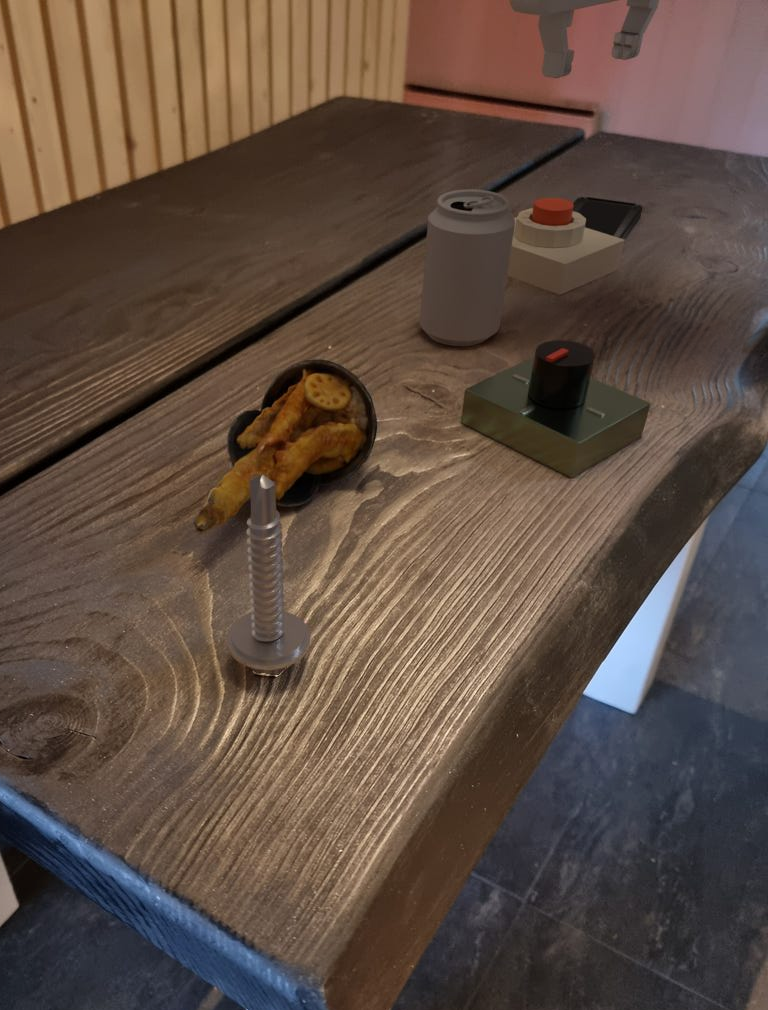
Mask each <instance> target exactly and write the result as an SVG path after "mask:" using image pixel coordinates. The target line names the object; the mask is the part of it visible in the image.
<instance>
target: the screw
mask: <svg viewBox="0 0 768 1010" xmlns="http://www.w3.org/2000/svg"><path fill="white" fill-rule="evenodd" d="M280 520H281V514H280V512H279V510H277V505H276V492H275V482H273V481H272V480H270V479H268V478H267V477H265V475H263V474H262V475H257V476H254V477H253V478H251V479H250V517H248V519H247V521H246V524H247V525H248V528H247V529H246V531H245V532H246V535H247V536H248V537H247V539H246V544H247V545H248V547H247V554H249V555H248V556H247V561H248V563H249V564H248V566H247V567H248V572H249V574H248V579H249V580H250V582H249V583H248V584H249V585H248V586H249V588H250V590H249V595H250V597H251V598H250V600H249V602H250V605H251V606H250V612H248V613H245V614H243V615H241V616H240V617H239V618H237V619H235V621H234V622H233V623H232V624H230V626H229V628H228V630H227V633H226V636H225V637H226V648H227V650H228V653H229V654H230V655H231V657H232V658H233V659H234V660H236V661H237V662H238V663H239V664H241V665H243V666H245V667H248V668H250V667H251V668H252V670H253V671H254V672H256V673H266V674H270V675H279V674H280V673H281V672H282V671H283V670H285V668H287V666H289V665H291V666H293V665H294V664H296V663H297V662H299V661H300V660H301V659H302V658H304V657H305V655H306V654H307V652H308V651H309V649H310V646H311V631H310V629H309V628H310V627H308V625H307V623H306V622H305V621H304V620H303V619H302V618H300V617H299V616H297V615H296V614H294V613H292V612H289V611H286V610H285V609H284V607H285V602H284V597H285V596H284V595H285V594H284V584H283V583H284V576H283V575H284V569H283V565H284V560H283V555H284V553H283V541H282V540H283V533H282V528H283V525H282V523H281V521H280ZM292 664H293V665H292ZM251 668H250V669H251ZM252 670H251V671H252Z"/></svg>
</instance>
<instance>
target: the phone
mask: <svg viewBox="0 0 768 1010" xmlns="http://www.w3.org/2000/svg"><path fill="white" fill-rule="evenodd" d="M572 203H573V205H574V207H573V211H574V212H577V213H580V214H581V215H582V216H583V217H585V218H586V224H585V228H589V229H592V230H595V231H598V232H601V233H605V234H608V235H611V236H614V237H617V238H621V239H624V240H625V241H626V239H627V238H628V236H629V234H630V233H631V232H632V230H633V229H634V227H635V226H636V225H637V223H638V221H639V220H640V219H641V216H642V212H643V205H641V204H639V203H636V202H635V203H634V202H628V201H620V200H614V199H606V198H598V197H590V196H580V197H577V198H576V199H575V200H574V201H573V202H572Z"/></svg>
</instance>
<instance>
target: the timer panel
mask: <svg viewBox="0 0 768 1010" xmlns="http://www.w3.org/2000/svg"><path fill="white" fill-rule="evenodd" d="M533 362H534V356H532V357H530V358H528V359H526V360H524V361H521V362H519V363H517V364H515V365H513V366H511V367H509V368H506V369H505V370H502V371H500V372H498V373H495V374H494V375H492V376H490V377H487V378H485V379H483V380H481V381H479V382H477V383H474V384H472V385H471V386H469V387H466V388H465V389H464V393H463V394H464V395H463V400H462V401H463V403H462V409H461V416H460V417H461V418H460V419H461V420H460V423H461V424H463V425H465V426H467V427H468V428H470V429H472V430H475V431H477V432H478V433H481V434H483V435H485V436H487V437H489V438H491V439H493V440H495V441H497V442H498V443H501V444H503V445H504V446H506V447H509V448H511V449H513V450H515V451H516V452H519V453H521V454H522V455H525V456H527V457H528V458H530V459H532V460H535V461H536V462H539V463H541V464H542V465H544V466H547V467H548V468H550V469H552V470H555V471H556V472H558V473H561V474H562V475H564V476H566V477H569V478H570V479H572V478H574V477H576V476H577V475H579V474H581V473H583V472H584V471H586V470H587V469H588V470H589V468H591V467H593V466H594V465H596V464H599V463H600V462H601V461H603V460H605V459H606V458H608V457H610V456H611V455H613V454H615V453H617V452H618V451H620V450H622V449H624V448H626V447H627V446H628V445H631V444H632V443H634V442H636V441H637V440H639V439H640V438H642V436H643V433H644V430H645V426H646V423H647V419H648V415H649V412H650V408H651V404H652V403H651V402H650V401H647V400H645V399H643V398H640V397H638V396H635V395H633V394H630V393H628V392H626V391H623V390H621V389H619V388H616V387H614V386H611V385H609V384H607V383H604V382H602V381H599V380H598V379H595V378H593V377H592V376H591V378H590V383H589V387H588V392H587V396H586V400H585V401H584V403H583V404H581V405H579V406H577V407H573V408H567V409H558V408H550V407H546V406H543V405H540V404H538V403H536V402H535V401H533V400H532V399H531V398H530V397H529V394H528V390H529V384H530V379H531V373H532V367H533Z"/></svg>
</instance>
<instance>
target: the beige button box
mask: <svg viewBox="0 0 768 1010" xmlns="http://www.w3.org/2000/svg"><path fill="white" fill-rule="evenodd" d="M532 212H533V207H530V208H527V209H525V210H521V211H519V212H518V215H517V216H516V217H514V220H515V227H514V234H513V241H512V247H511V254H510V261H509V268H508V274H507V277H509V278H512V279H514V280H517V281H521V282H524V283H525V284H528V285H531V286H534V287H537V288H539V289H542V290H545V291H548V292H550V293H553V294H555V295H558V296H561V295H563V294H565V293H568V292H569V291H572V290H574V289H577V288H579V287H582V286H584V285H586V284H589V283H591V282H594V281H596V280H597V279H600V278H602V277H605V276H607V275H609V274H612V273H614V272H616V271H618V270H619V267H620V264H621V259H622V255H623V250H624V246H625V242H626V239H625V240H624V239H621V238H617V237H614V236H611V235H608V234H605V233H601V232H598V231H595V230H592V229H589V228H585V224H586V218H585V217H583V216H582V215H581V214H580V213H577V212H574V211H573V213H572V218H571V223H570V224H568V225H563V226H547V225H541V224H538V223H535V222H532V220H531V219H532Z"/></svg>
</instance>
